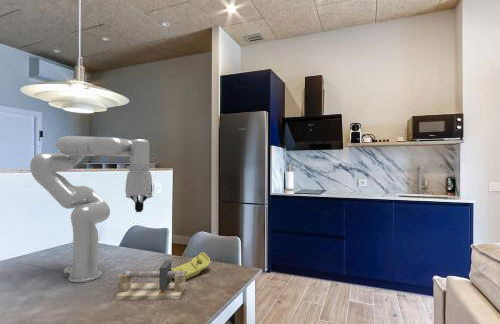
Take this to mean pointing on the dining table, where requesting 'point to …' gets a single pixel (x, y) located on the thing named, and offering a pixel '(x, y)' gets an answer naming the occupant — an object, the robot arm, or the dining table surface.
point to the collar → (164, 275)
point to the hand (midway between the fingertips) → (139, 211)
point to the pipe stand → (149, 286)
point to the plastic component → (194, 265)
